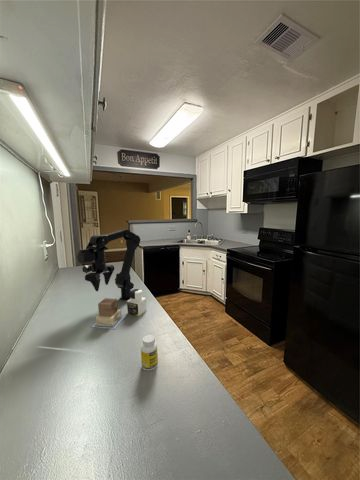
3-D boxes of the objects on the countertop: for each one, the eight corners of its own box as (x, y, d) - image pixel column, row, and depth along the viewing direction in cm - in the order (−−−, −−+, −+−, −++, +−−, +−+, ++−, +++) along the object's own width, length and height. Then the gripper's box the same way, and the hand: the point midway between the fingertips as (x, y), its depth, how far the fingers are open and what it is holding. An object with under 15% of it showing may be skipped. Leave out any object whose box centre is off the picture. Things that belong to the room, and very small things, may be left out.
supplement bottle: (150, 373, 64) (149, 345, 63) (138, 367, 67) (136, 340, 66) (161, 362, 69) (159, 336, 67) (149, 357, 71) (147, 331, 70)
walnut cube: (106, 309, 98) (105, 298, 97) (117, 310, 97) (116, 298, 96) (99, 316, 92) (98, 303, 91) (111, 317, 91) (110, 304, 90)
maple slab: (106, 316, 100) (105, 308, 99) (121, 317, 98) (120, 309, 98) (96, 325, 92) (96, 317, 91) (112, 326, 91) (112, 318, 90)
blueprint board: (104, 315, 102) (104, 313, 102) (126, 316, 100) (126, 315, 100) (90, 328, 91) (90, 327, 90) (114, 330, 88) (114, 329, 88)
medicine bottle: (127, 314, 102) (125, 291, 101) (136, 308, 109) (135, 286, 107) (138, 317, 99) (136, 294, 97) (147, 310, 105) (145, 288, 104)
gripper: (96, 255, 115) (98, 281, 118) (73, 263, 97) (76, 294, 99) (113, 255, 113) (115, 281, 116) (94, 264, 95) (97, 295, 97)
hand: (102, 287), depth 107 cm, fingers open, 9 cm apart
